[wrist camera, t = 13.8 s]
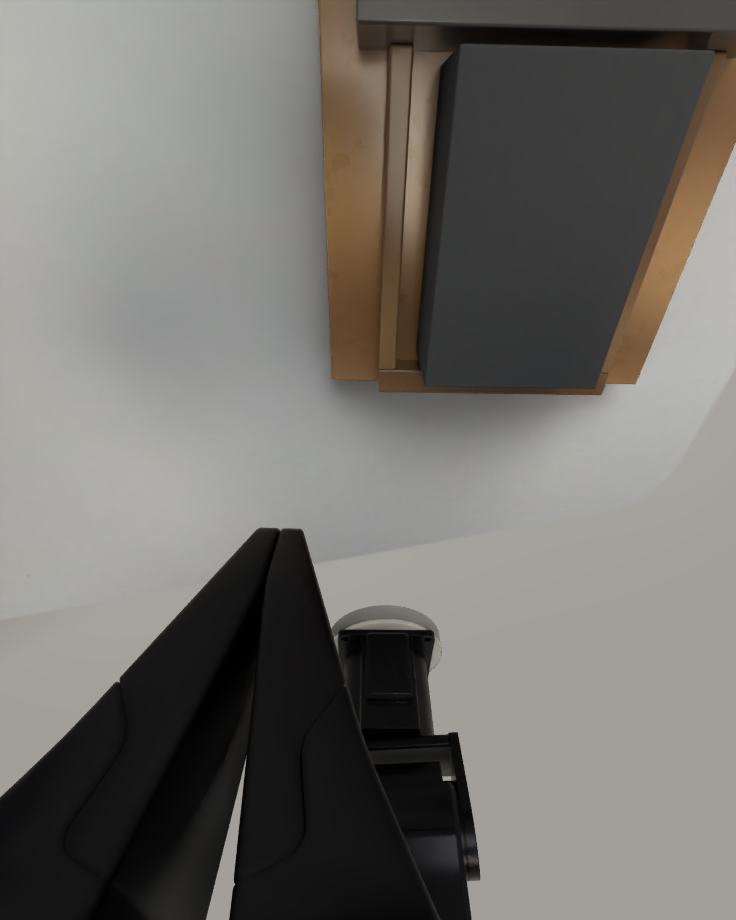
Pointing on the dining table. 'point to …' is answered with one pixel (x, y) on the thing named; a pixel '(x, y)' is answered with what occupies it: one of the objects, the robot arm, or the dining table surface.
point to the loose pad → (544, 205)
